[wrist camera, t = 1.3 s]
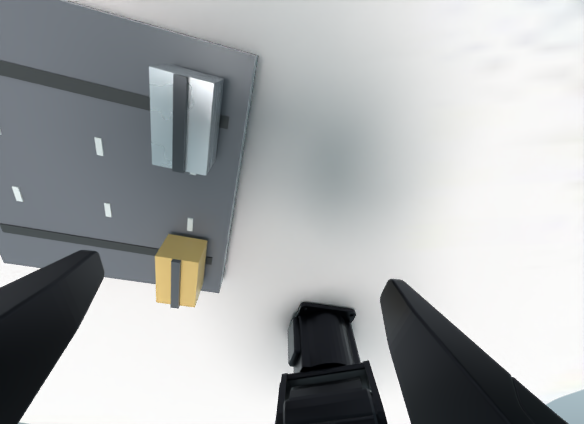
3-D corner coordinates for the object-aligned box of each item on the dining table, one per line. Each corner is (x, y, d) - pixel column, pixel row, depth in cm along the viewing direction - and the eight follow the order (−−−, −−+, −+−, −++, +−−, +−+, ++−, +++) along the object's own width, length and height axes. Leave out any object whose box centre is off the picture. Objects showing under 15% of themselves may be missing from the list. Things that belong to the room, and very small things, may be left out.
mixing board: (258, 55, 16) (254, 56, 15) (223, 277, 26) (218, 293, 25) (-83, -43, 14) (-138, -57, 12) (23, 247, 24) (2, 263, 22)
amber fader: (207, 240, 21) (197, 265, 18) (203, 283, 23) (193, 310, 21) (168, 233, 20) (153, 258, 18) (168, 278, 23) (154, 305, 21)
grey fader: (224, 78, 15) (212, 84, 12) (215, 159, 17) (204, 177, 15) (169, 64, 14) (146, 66, 12) (168, 149, 17) (149, 166, 14)
